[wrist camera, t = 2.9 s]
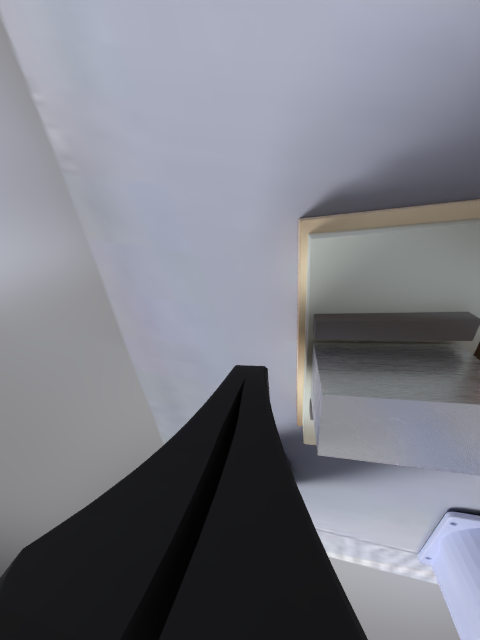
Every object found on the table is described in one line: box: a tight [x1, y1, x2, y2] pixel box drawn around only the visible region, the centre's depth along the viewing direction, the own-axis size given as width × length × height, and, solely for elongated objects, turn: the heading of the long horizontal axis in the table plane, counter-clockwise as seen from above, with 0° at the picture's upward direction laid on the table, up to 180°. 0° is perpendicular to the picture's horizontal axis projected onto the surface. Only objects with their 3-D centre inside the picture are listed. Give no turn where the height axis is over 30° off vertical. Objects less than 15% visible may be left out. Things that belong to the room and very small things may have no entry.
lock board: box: [297, 199, 480, 445], centre depth 9 cm, size 12×13×6 cm
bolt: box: [311, 342, 480, 476], centre depth 8 cm, size 3×5×3 cm, turn 97°
